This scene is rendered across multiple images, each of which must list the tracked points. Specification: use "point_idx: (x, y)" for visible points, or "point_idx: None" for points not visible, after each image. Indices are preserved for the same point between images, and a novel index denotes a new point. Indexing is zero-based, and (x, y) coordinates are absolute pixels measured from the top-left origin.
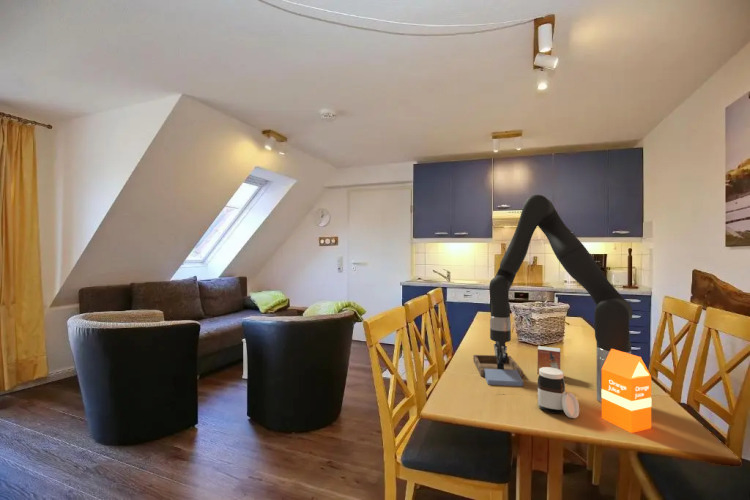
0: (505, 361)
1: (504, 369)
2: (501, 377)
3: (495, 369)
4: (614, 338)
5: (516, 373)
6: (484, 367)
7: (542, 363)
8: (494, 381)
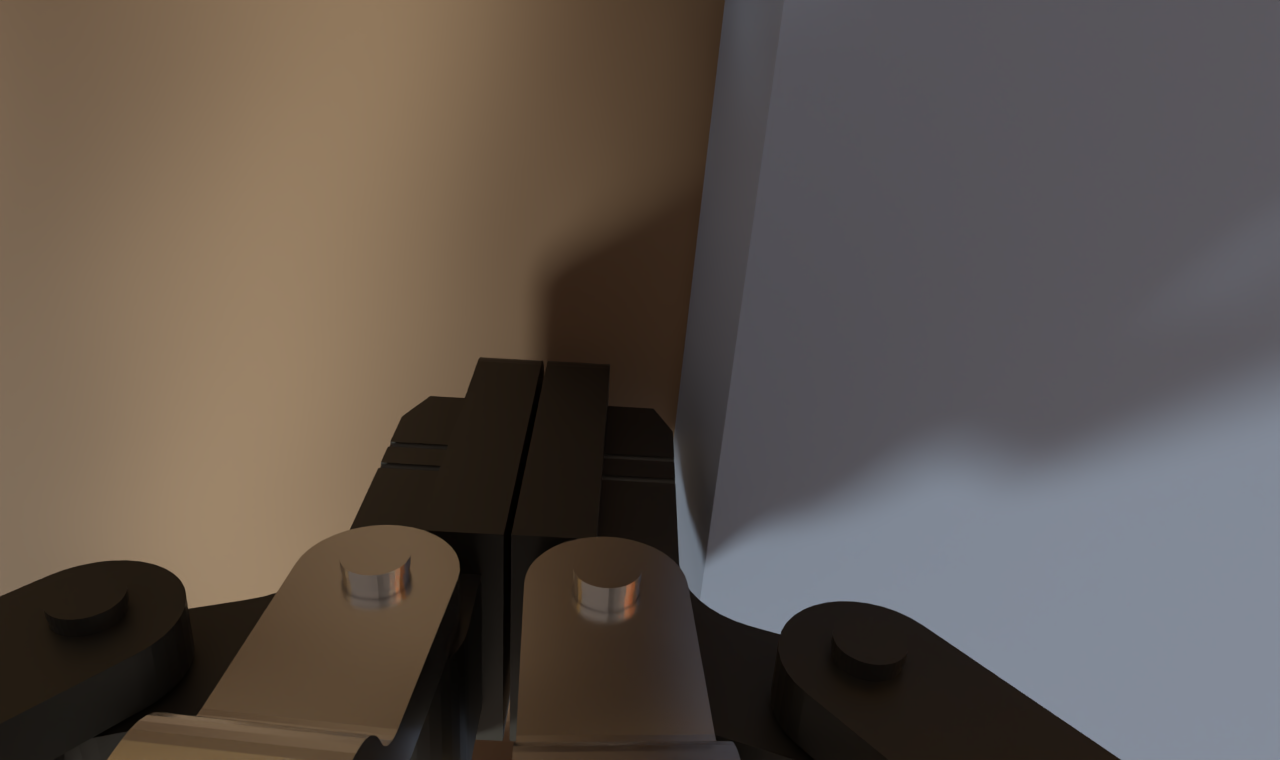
0: (1065, 753)
1: (20, 146)
2: (1264, 637)
3: None
4: None
5: (1100, 66)
6: None
7: None
8: None
